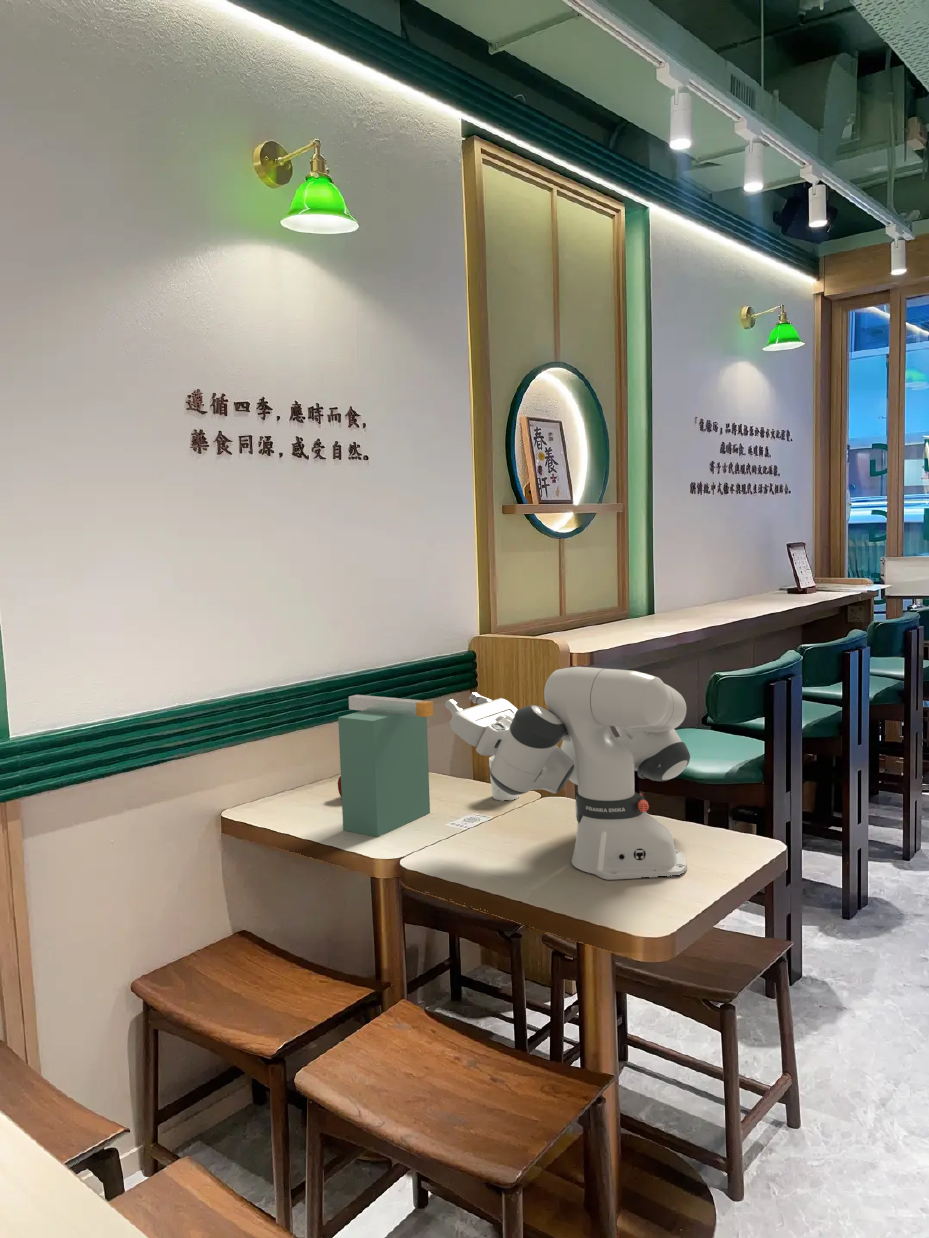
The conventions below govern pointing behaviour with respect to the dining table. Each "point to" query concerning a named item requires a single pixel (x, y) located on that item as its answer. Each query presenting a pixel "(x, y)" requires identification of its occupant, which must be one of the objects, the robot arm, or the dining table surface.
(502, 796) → the white cup
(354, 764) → the green box
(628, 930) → the dining table surface
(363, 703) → the lever bar
